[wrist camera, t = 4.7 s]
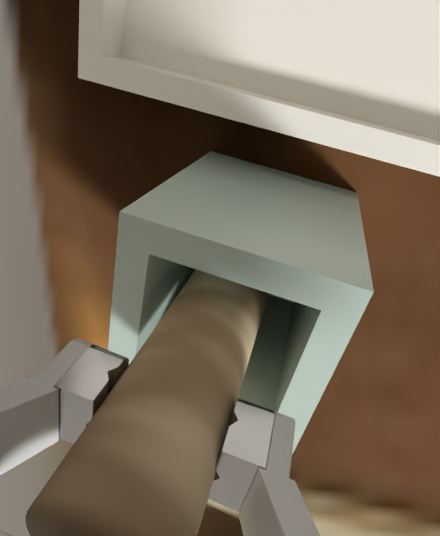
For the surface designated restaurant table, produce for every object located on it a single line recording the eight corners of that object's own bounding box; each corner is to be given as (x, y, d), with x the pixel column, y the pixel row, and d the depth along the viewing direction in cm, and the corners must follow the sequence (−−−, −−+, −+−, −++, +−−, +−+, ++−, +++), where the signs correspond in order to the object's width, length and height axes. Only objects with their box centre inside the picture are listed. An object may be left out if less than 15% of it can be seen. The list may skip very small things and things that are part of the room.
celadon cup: (357, 192, 17) (373, 291, 10) (307, 314, 21) (290, 458, 13) (211, 151, 18) (119, 211, 11) (186, 274, 22) (104, 387, 14)
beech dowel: (290, 224, 18) (196, 547, 6) (272, 278, 19) (168, 623, 7) (228, 205, 18) (21, 473, 6) (215, 260, 20) (29, 559, 8)
